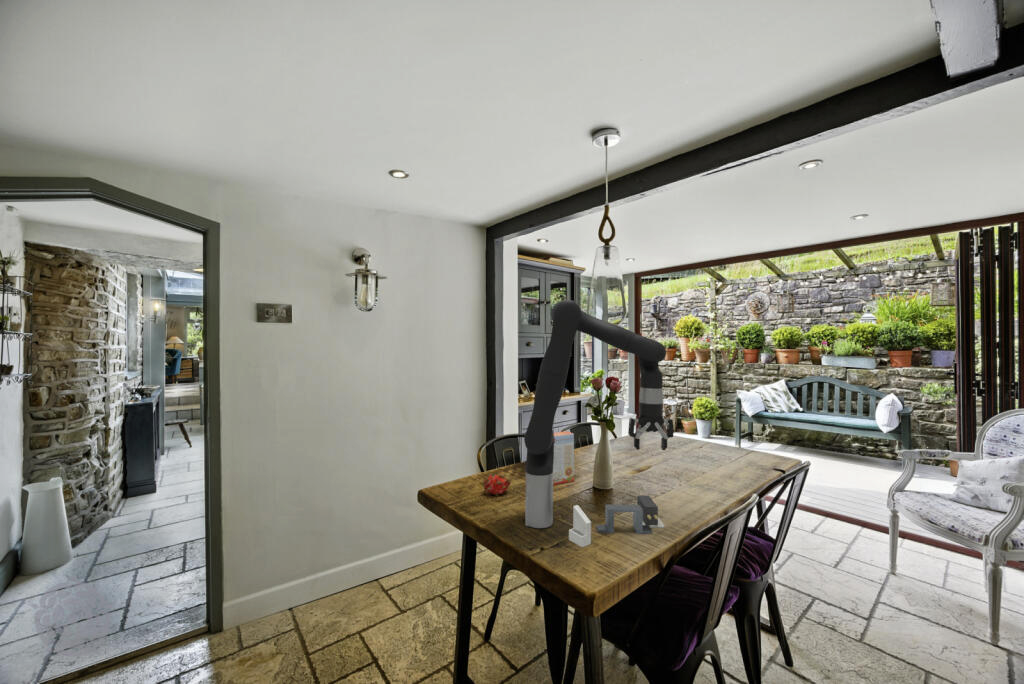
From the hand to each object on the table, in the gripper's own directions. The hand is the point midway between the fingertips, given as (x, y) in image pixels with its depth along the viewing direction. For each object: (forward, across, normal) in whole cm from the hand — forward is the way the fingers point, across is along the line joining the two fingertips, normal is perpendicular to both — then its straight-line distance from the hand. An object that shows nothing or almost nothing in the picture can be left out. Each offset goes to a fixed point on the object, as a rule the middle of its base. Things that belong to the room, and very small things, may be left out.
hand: (650, 449), depth 142 cm
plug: (+24, 0, -3) cm, 25 cm away
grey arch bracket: (+25, +10, +6) cm, 27 cm away
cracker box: (+25, +28, -39) cm, 54 cm away
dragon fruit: (+26, +53, -25) cm, 64 cm away
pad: (+25, 0, -4) cm, 25 cm away
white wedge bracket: (+25, +25, +14) cm, 38 cm away
